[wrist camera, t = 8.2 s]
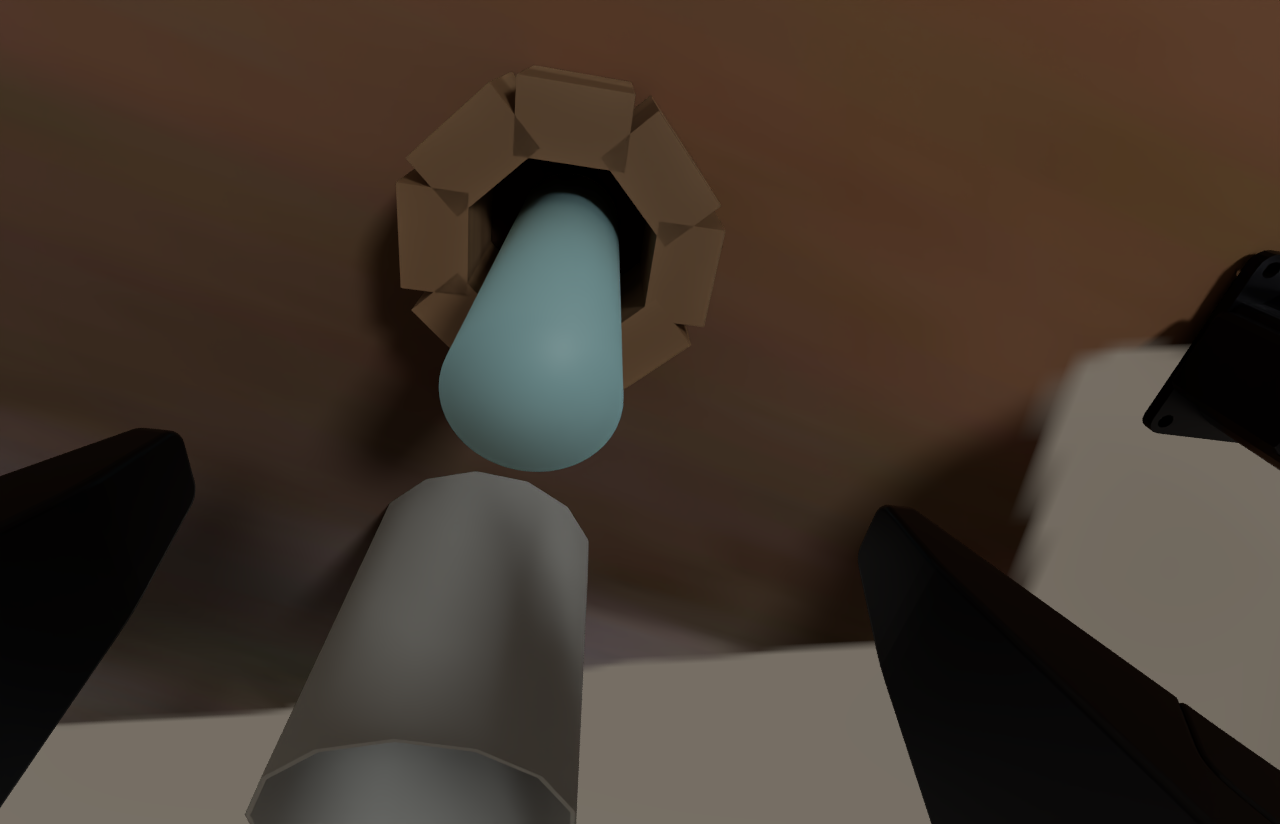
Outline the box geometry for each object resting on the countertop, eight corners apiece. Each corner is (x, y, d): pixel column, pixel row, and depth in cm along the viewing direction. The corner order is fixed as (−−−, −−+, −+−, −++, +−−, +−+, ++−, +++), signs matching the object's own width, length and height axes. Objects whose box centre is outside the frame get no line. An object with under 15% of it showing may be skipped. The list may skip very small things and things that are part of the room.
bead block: (726, 98, 16) (751, 113, 14) (674, 354, 20) (685, 410, 17) (432, 47, 16) (389, 52, 13) (436, 324, 20) (404, 378, 17)
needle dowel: (624, 181, 18) (636, 326, 9) (611, 276, 19) (610, 479, 10) (523, 165, 17) (437, 301, 9) (518, 263, 19) (439, 462, 10)
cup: (586, 628, 27) (574, 900, 19) (394, 626, 27) (292, 904, 18) (589, 474, 23) (575, 738, 14) (359, 468, 22) (204, 738, 14)
